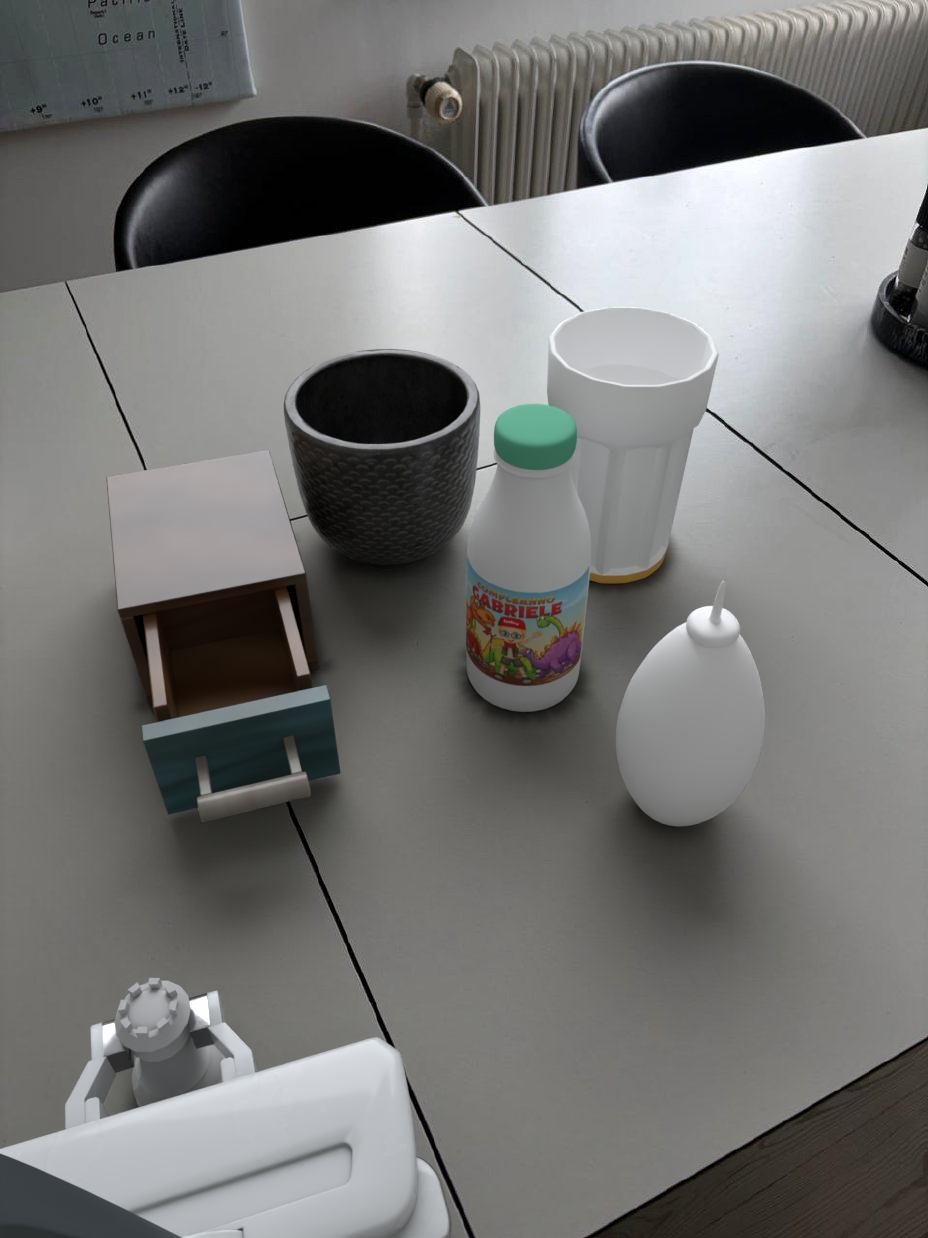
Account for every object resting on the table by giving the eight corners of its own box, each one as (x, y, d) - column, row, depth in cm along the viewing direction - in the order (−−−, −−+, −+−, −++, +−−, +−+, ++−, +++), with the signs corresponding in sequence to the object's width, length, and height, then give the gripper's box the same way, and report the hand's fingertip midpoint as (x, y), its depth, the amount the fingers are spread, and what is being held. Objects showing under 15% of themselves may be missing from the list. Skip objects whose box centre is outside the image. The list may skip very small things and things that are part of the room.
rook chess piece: (156, 1149, 47) (115, 1078, 41) (123, 1068, 49) (80, 991, 44) (244, 1095, 49) (216, 1019, 43) (208, 1019, 51) (177, 939, 46)
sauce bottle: (586, 772, 63) (615, 549, 50) (697, 740, 65) (752, 517, 52) (642, 875, 57) (691, 653, 45) (762, 837, 59) (840, 614, 47)
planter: (378, 624, 73) (365, 476, 64) (267, 535, 80) (243, 392, 71) (515, 541, 79) (521, 398, 71) (402, 467, 87) (394, 328, 78)
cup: (521, 511, 82) (530, 312, 70) (653, 496, 84) (684, 299, 72) (555, 603, 74) (572, 395, 62) (701, 584, 76) (745, 378, 64)
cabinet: (319, 667, 69) (305, 572, 64) (147, 704, 67) (117, 609, 61) (283, 540, 80) (269, 449, 74) (133, 568, 77) (105, 476, 71)
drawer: (355, 828, 59) (346, 754, 54) (174, 874, 56) (148, 801, 52) (300, 628, 71) (289, 553, 66) (150, 659, 69) (127, 584, 64)
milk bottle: (468, 633, 72) (468, 384, 58) (576, 635, 72) (601, 387, 58) (464, 714, 66) (463, 460, 53) (581, 717, 66) (611, 463, 52)
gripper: (464, 1245, 36) (375, 916, 46) (-151, 1462, 32) (-107, 1047, 41) (464, 1292, 41) (383, 982, 50) (-78, 1489, 36) (-54, 1108, 46)
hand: (157, 1012), depth 46 cm, fingers closed on rook chess piece, 3 cm apart
